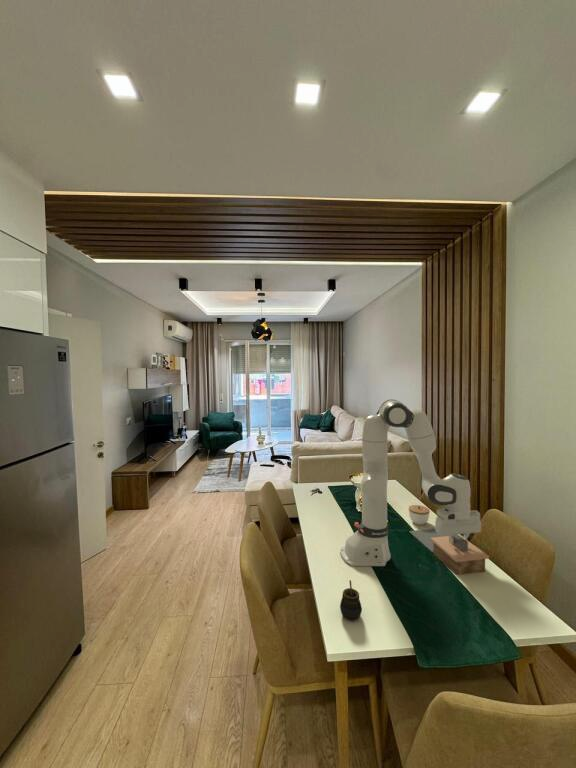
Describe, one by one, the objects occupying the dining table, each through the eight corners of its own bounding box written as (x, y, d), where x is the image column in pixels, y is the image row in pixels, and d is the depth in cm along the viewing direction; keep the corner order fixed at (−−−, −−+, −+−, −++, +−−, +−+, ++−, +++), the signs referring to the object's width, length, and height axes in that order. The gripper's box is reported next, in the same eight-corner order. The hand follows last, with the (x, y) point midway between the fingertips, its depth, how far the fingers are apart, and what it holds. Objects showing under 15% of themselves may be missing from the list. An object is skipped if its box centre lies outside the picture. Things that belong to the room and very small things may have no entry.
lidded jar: (424, 518, 187) (425, 502, 187) (432, 527, 176) (432, 509, 176) (405, 518, 187) (406, 501, 187) (412, 526, 177) (412, 509, 176)
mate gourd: (342, 624, 108) (342, 594, 108) (338, 608, 116) (337, 580, 116) (364, 623, 109) (364, 593, 109) (358, 607, 116) (358, 579, 116)
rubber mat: (432, 552, 152) (432, 551, 152) (409, 531, 171) (409, 531, 171) (467, 548, 155) (467, 548, 155) (440, 529, 174) (440, 528, 174)
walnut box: (456, 574, 135) (457, 560, 135) (433, 553, 151) (433, 540, 150) (484, 571, 137) (485, 557, 137) (458, 551, 153) (459, 538, 153)
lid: (456, 562, 133) (456, 550, 133) (430, 539, 151) (430, 529, 151) (489, 558, 136) (489, 546, 136) (459, 537, 154) (459, 526, 154)
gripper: (474, 507, 148) (474, 537, 148) (433, 510, 144) (432, 541, 145) (485, 512, 142) (484, 544, 142) (442, 516, 138) (441, 548, 139)
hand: (458, 542), depth 143 cm, fingers open, 4 cm apart
